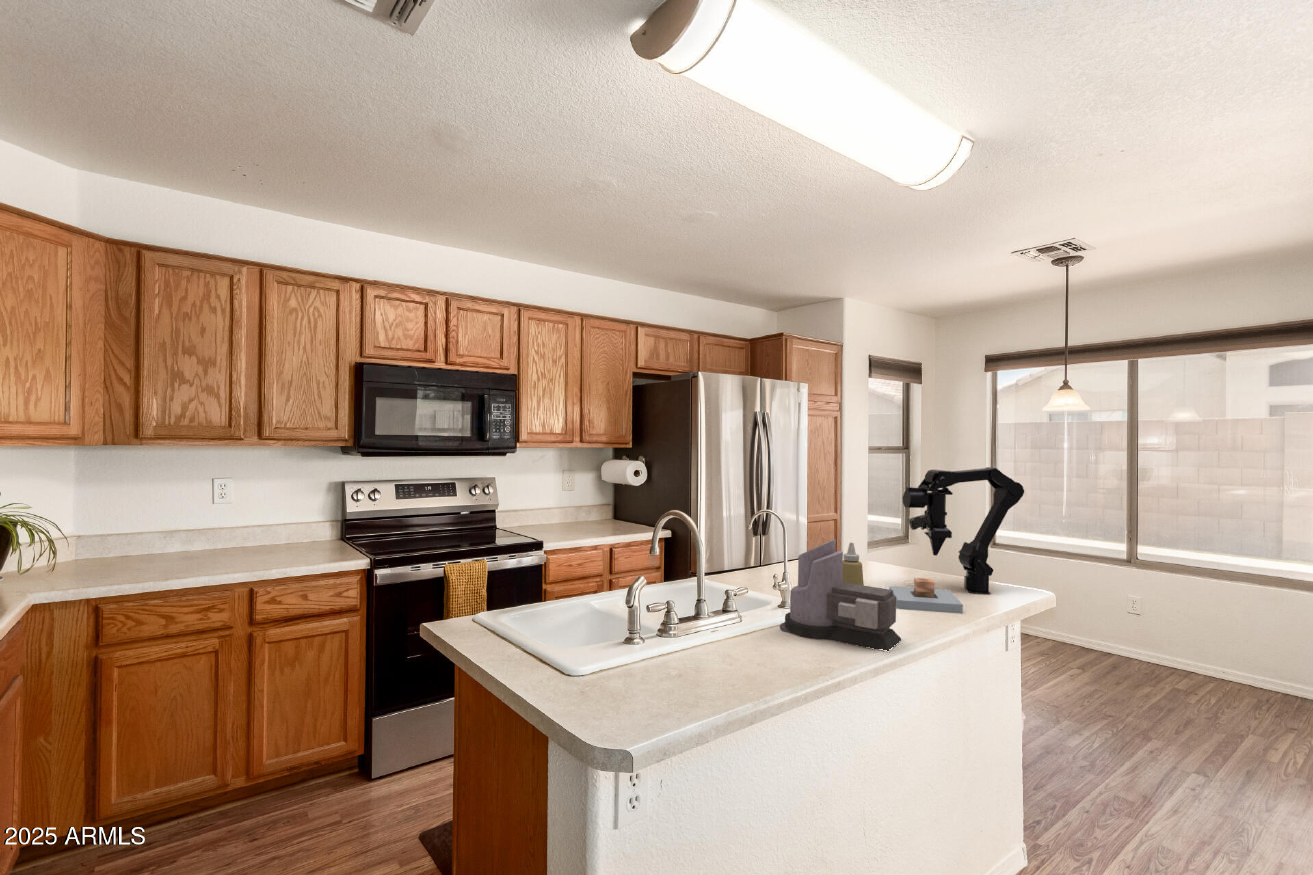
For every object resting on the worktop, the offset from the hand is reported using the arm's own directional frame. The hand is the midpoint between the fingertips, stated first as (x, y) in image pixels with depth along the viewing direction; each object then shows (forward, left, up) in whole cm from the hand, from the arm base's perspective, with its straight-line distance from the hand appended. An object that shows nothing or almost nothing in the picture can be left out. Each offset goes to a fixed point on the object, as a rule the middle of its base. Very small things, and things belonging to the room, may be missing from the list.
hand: (935, 555), depth 211 cm
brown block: (+6, +16, -11) cm, 20 cm away
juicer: (+34, +54, -12) cm, 65 cm away
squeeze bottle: (+28, +20, -12) cm, 37 cm away
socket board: (+6, +16, -12) cm, 21 cm away
